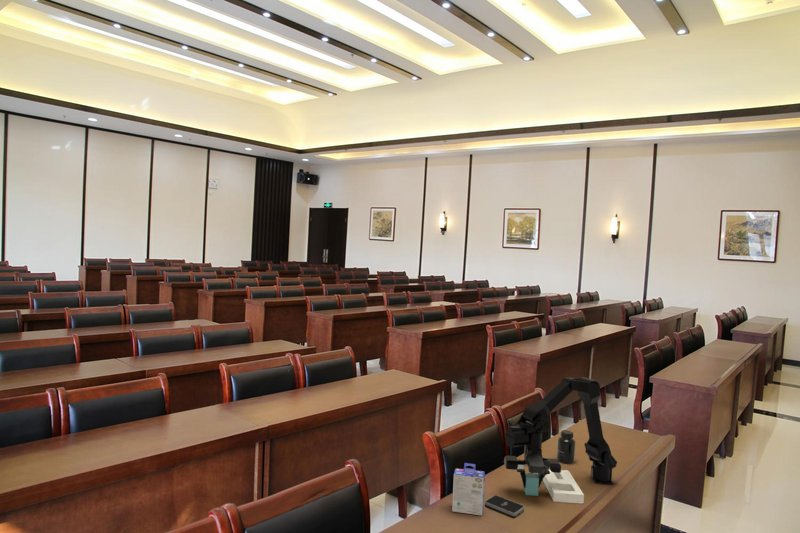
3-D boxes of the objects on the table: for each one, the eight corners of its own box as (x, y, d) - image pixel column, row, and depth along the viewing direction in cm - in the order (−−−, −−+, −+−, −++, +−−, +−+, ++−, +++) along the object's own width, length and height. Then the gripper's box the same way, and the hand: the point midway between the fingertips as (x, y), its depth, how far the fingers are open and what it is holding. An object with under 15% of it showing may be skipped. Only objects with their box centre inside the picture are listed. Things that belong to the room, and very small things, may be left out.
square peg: (535, 490, 180) (536, 473, 180) (538, 495, 176) (539, 478, 176) (523, 489, 181) (524, 472, 180) (525, 494, 176) (526, 477, 176)
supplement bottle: (556, 462, 207) (557, 432, 207) (557, 456, 213) (558, 428, 213) (573, 465, 204) (575, 435, 204) (574, 459, 211) (576, 430, 211)
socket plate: (568, 478, 192) (568, 470, 192) (583, 503, 172) (584, 494, 172) (541, 476, 192) (541, 468, 192) (553, 501, 172) (553, 492, 172)
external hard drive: (514, 519, 160) (514, 513, 160) (483, 507, 167) (484, 501, 167) (524, 512, 165) (524, 506, 165) (494, 500, 172) (494, 494, 172)
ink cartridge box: (483, 508, 166) (485, 464, 165) (482, 516, 160) (485, 470, 160) (453, 504, 168) (455, 460, 167) (451, 512, 162) (453, 466, 162)
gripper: (509, 450, 171) (507, 496, 171) (566, 454, 169) (564, 501, 170) (505, 439, 182) (502, 482, 182) (558, 442, 181) (556, 486, 181)
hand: (531, 488), depth 178 cm, fingers closed on square peg, 4 cm apart
